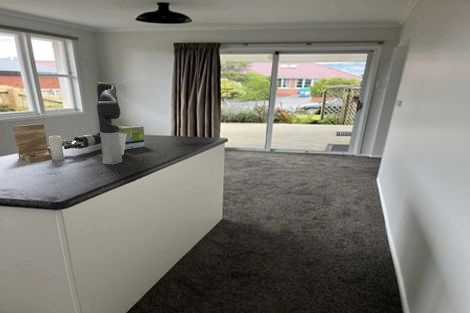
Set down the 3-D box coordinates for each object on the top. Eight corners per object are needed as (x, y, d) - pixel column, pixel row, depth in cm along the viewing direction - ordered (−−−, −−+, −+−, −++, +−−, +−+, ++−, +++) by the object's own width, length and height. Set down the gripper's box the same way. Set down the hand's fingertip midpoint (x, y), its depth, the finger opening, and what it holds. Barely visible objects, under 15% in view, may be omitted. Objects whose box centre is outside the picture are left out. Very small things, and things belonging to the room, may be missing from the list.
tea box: (125, 150, 165) (123, 128, 161) (117, 147, 171) (115, 126, 167) (145, 146, 177) (143, 126, 173) (137, 144, 183) (135, 124, 179)
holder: (59, 156, 144) (55, 126, 139) (31, 162, 132) (25, 129, 128) (47, 153, 151) (42, 123, 146) (19, 158, 139) (12, 126, 134)
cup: (120, 157, 147) (118, 137, 144) (102, 156, 149) (100, 135, 146) (131, 153, 159) (130, 134, 155) (115, 151, 161) (113, 132, 157)
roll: (66, 159, 141) (62, 136, 137) (55, 161, 136) (51, 137, 132) (60, 157, 143) (57, 135, 140) (50, 159, 138) (46, 136, 135)
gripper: (75, 134, 155) (48, 138, 140) (92, 136, 151) (67, 141, 136) (76, 146, 157) (51, 151, 142) (94, 148, 153) (69, 154, 138)
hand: (58, 146), depth 139 cm, fingers open, 8 cm apart
